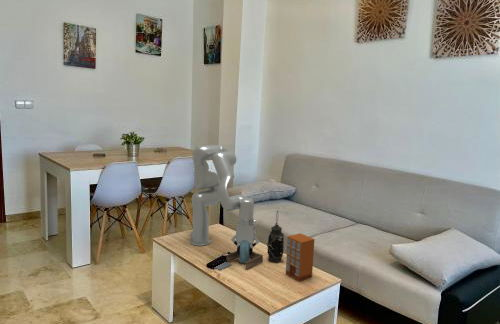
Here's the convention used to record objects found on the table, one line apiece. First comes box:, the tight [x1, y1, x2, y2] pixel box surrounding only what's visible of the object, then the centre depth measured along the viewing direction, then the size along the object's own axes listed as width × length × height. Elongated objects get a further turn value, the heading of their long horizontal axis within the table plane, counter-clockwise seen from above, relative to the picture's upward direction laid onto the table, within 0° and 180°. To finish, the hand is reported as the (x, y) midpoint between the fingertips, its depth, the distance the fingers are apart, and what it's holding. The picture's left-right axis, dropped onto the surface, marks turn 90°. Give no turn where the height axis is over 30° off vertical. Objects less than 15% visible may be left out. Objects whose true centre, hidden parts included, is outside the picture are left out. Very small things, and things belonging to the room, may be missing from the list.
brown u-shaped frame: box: [225, 250, 264, 271], centre depth 206 cm, size 14×14×4 cm
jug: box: [238, 241, 251, 264], centre depth 204 cm, size 8×6×12 cm
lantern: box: [266, 210, 285, 263], centre depth 209 cm, size 10×9×28 cm
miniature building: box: [285, 232, 316, 282], centre depth 191 cm, size 10×9×20 cm
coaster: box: [213, 261, 233, 271], centre depth 201 cm, size 9×9×1 cm
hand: (244, 253), depth 206 cm, fingers closed on jug, 5 cm apart
